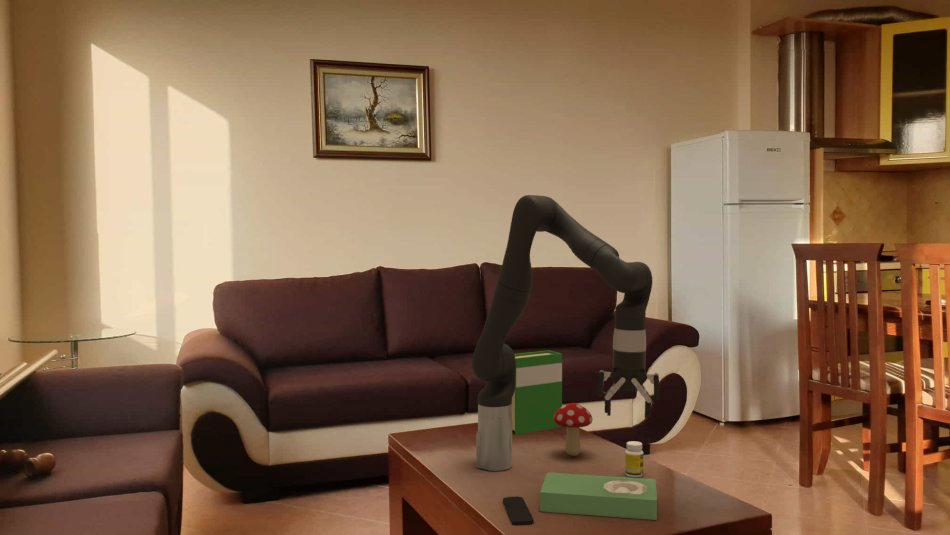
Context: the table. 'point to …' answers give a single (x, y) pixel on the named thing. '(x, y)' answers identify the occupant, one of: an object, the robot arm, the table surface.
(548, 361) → the hardback book
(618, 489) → the ball
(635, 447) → the supplement bottle
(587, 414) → the decorative mushroom
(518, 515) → the remote control
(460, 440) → the table surface
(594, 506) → the green flat block
